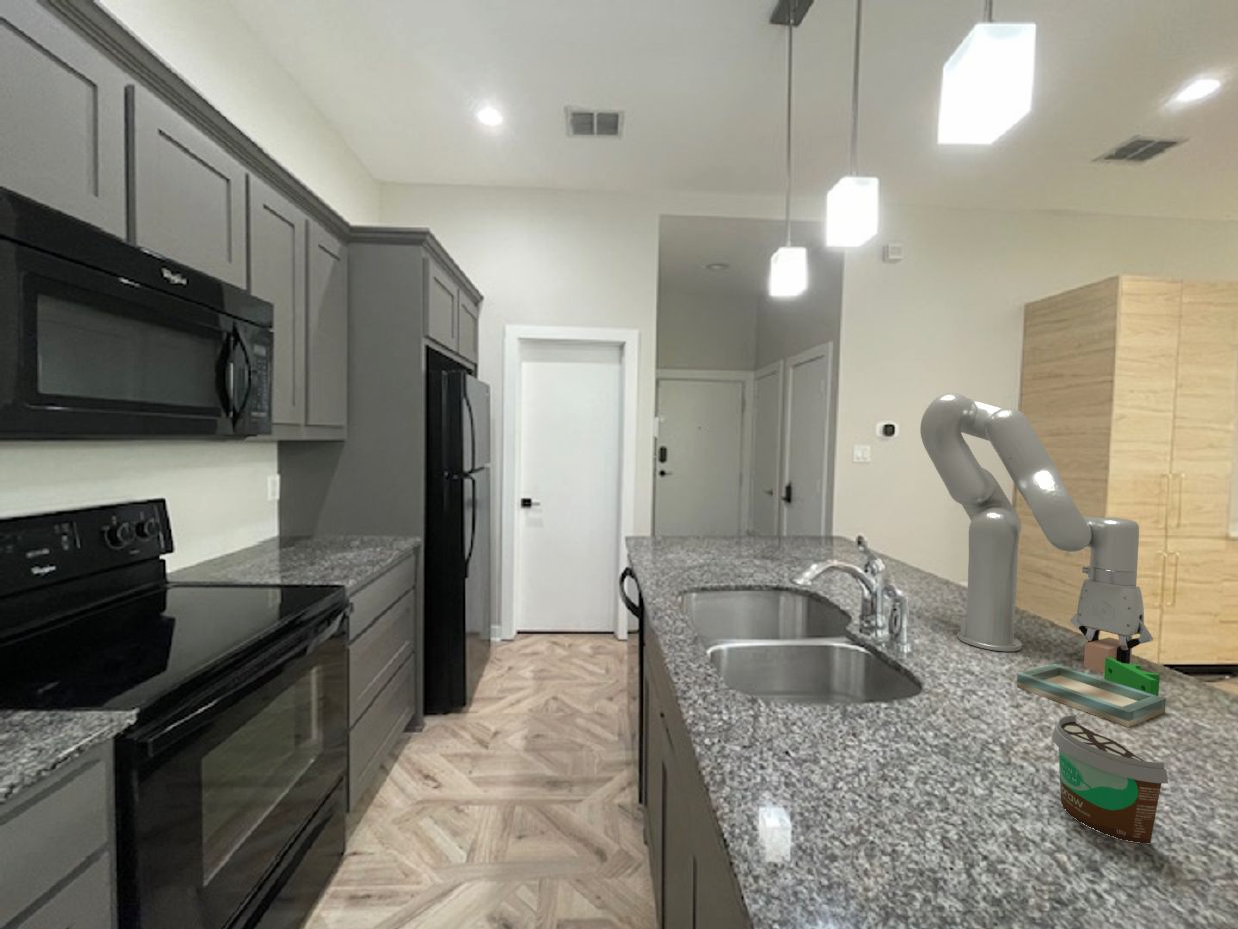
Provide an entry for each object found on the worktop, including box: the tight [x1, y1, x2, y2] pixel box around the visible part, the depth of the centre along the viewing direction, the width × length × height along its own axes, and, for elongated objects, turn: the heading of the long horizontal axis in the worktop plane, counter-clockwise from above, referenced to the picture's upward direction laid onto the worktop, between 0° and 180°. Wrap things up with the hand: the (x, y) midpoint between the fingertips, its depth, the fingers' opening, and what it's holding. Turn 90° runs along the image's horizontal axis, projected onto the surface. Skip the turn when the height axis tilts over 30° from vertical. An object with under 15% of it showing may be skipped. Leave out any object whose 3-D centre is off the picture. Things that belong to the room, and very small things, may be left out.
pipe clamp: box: [1103, 657, 1161, 696], centre depth 108 cm, size 11×4×5 cm, turn 173°
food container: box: [1051, 714, 1169, 844], centre depth 69 cm, size 12×6×10 cm, turn 5°
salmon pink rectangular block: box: [1083, 636, 1133, 674], centre depth 120 cm, size 4×10×5 cm, turn 117°
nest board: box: [1016, 663, 1167, 728], centre depth 104 cm, size 17×13×2 cm
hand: (1107, 662), depth 120 cm, fingers closed on salmon pink rectangular block, 4 cm apart
